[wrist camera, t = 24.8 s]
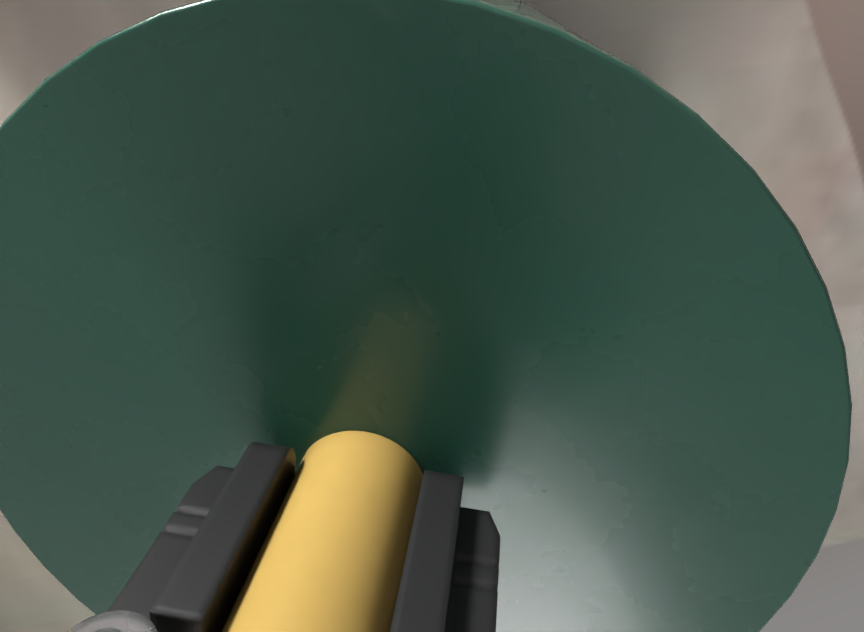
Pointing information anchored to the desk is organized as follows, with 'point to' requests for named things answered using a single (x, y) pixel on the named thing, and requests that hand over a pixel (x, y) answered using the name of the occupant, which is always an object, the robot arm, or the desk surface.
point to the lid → (411, 318)
